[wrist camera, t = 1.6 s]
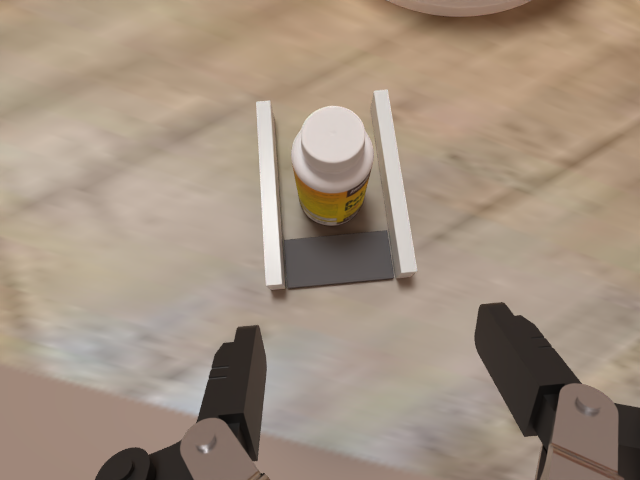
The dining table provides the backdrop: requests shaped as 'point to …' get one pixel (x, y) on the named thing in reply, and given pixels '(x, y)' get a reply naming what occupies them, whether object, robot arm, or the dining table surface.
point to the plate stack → (459, 6)
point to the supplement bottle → (332, 165)
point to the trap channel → (337, 250)
